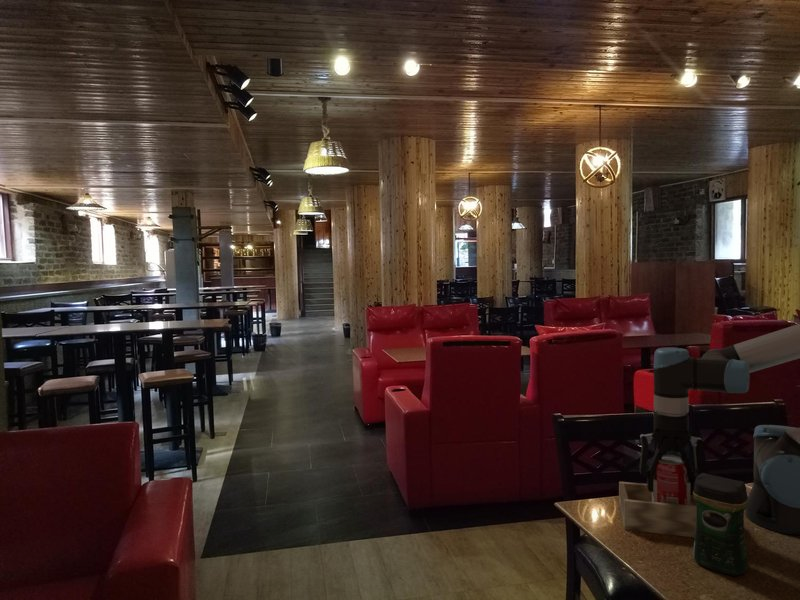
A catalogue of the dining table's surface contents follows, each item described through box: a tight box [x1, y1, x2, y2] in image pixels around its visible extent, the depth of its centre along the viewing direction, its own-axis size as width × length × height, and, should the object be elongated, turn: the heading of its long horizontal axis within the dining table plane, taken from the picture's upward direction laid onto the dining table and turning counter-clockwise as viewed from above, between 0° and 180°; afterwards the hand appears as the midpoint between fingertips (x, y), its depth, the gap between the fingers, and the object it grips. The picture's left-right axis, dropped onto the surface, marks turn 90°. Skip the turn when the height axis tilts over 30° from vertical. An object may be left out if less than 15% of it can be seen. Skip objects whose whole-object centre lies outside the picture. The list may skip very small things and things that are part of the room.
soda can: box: [655, 454, 688, 505], centre depth 129 cm, size 7×7×13 cm
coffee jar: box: [692, 472, 749, 576], centre depth 111 cm, size 10×8×19 cm
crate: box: [618, 481, 697, 538], centre depth 129 cm, size 22×12×7 cm, turn 73°
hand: (670, 505), depth 129 cm, fingers closed on soda can, 6 cm apart
